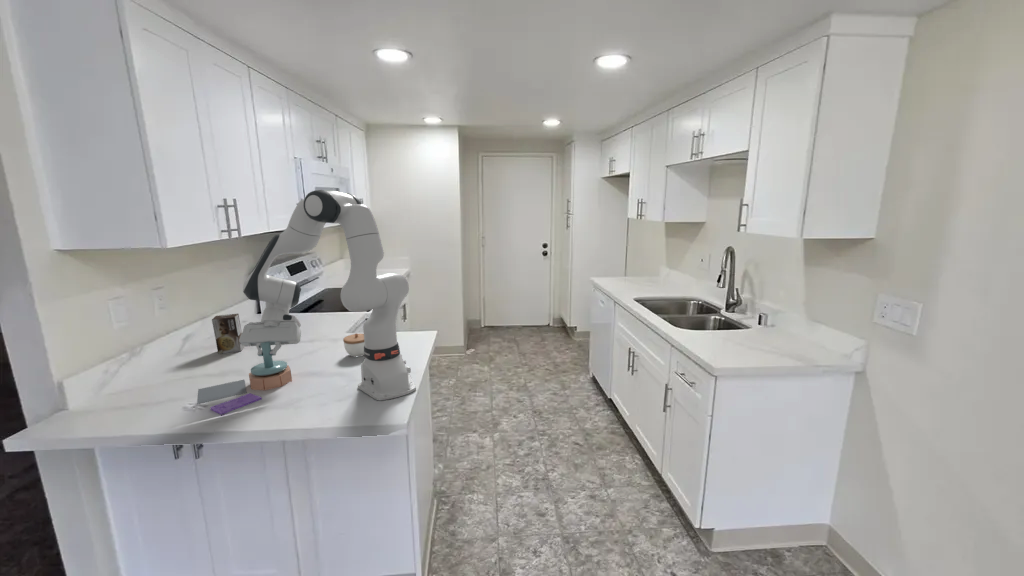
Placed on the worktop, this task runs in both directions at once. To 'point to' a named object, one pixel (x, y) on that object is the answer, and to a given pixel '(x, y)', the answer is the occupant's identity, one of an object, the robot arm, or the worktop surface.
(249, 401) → the sponges
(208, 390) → the mat
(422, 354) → the worktop surface
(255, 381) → the bowl
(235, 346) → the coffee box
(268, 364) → the lid
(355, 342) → the lidded jar
